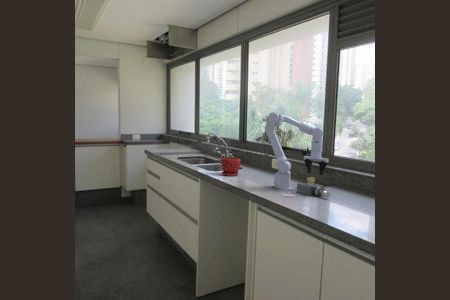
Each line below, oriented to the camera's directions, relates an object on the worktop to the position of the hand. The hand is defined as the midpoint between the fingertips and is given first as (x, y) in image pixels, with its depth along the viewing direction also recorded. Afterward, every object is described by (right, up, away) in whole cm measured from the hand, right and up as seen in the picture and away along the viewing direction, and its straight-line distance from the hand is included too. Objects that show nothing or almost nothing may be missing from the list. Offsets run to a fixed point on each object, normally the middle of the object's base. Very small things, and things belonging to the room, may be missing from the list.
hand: (315, 173), depth 177 cm
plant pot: (-46, -5, +45) cm, 65 cm away
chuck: (-3, -11, -10) cm, 15 cm away
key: (-5, -8, -7) cm, 12 cm away
